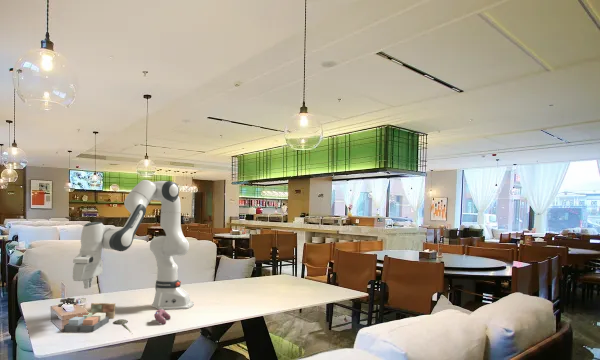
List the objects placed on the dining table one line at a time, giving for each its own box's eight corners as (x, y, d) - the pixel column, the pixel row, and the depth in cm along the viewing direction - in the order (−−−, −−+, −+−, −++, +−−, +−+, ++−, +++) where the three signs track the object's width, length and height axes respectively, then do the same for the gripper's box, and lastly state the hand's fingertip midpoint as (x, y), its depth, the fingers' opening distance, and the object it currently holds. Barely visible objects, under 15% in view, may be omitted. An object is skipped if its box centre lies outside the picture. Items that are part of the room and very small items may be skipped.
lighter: (73, 317, 180) (75, 296, 181) (76, 318, 178) (78, 297, 179) (55, 320, 173) (57, 298, 174) (58, 321, 171) (60, 300, 172)
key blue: (83, 323, 161) (84, 316, 162) (77, 327, 156) (78, 319, 157) (74, 323, 161) (75, 316, 161) (68, 327, 156) (68, 319, 156)
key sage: (91, 319, 168) (92, 312, 169) (86, 322, 163) (86, 315, 164) (82, 319, 168) (83, 312, 168) (77, 322, 163) (77, 315, 163)
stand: (116, 319, 178) (117, 303, 179) (112, 321, 174) (113, 304, 175) (90, 319, 177) (92, 302, 178) (86, 321, 173) (88, 304, 174)
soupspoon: (125, 323, 175) (110, 326, 171) (125, 316, 176) (110, 319, 172) (138, 334, 158) (121, 337, 154) (138, 326, 159) (122, 329, 155)
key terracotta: (97, 323, 162) (98, 317, 162) (92, 327, 157) (92, 320, 157) (88, 323, 161) (89, 316, 162) (82, 327, 156) (83, 320, 157)
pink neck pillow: (163, 322, 181) (157, 309, 181) (171, 318, 182) (166, 305, 182) (157, 328, 171) (151, 314, 172) (166, 323, 172) (160, 310, 172)
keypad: (108, 324, 170) (109, 316, 170) (92, 334, 155) (93, 325, 155) (81, 323, 169) (82, 316, 169) (63, 334, 154) (64, 325, 155)
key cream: (105, 319, 169) (105, 312, 169) (100, 322, 164) (100, 315, 164) (96, 319, 168) (96, 312, 169) (90, 322, 163) (91, 315, 164)
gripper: (94, 254, 179) (91, 283, 177) (71, 259, 158) (67, 292, 157) (107, 255, 179) (105, 283, 178) (86, 260, 159) (83, 292, 157)
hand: (87, 287), depth 167 cm, fingers closed
